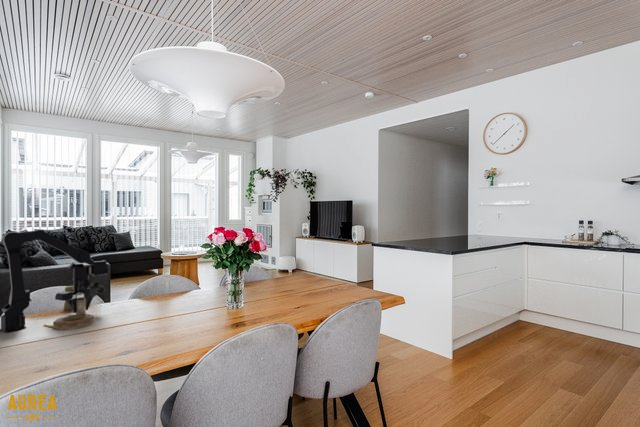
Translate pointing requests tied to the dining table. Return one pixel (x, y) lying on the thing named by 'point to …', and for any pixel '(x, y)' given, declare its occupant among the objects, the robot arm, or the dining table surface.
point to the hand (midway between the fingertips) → (80, 311)
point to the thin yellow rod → (48, 325)
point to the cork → (66, 305)
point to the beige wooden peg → (81, 306)
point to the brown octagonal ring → (73, 321)
